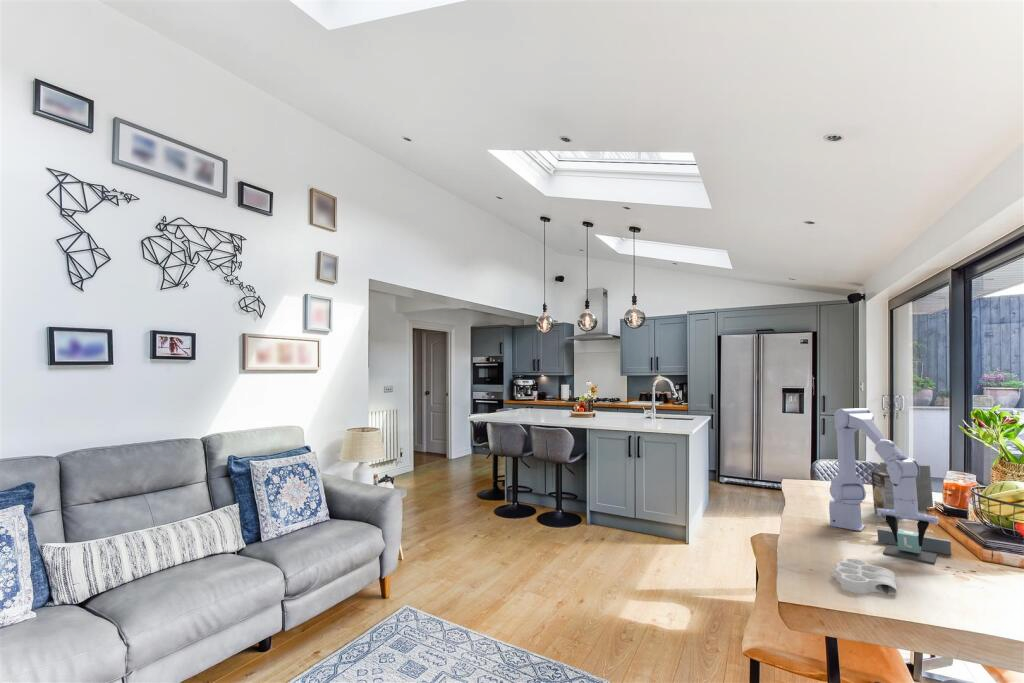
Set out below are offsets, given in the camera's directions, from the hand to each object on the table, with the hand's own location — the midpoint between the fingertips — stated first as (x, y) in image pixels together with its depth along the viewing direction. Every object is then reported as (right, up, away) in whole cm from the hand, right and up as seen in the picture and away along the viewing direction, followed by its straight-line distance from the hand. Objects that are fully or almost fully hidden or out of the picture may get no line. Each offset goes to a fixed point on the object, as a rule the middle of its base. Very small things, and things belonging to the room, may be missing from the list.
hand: (908, 543), depth 149 cm
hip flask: (+39, -6, +48) cm, 62 cm away
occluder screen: (+6, -4, +6) cm, 9 cm away
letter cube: (0, -2, 0) cm, 2 cm away
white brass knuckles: (-27, -4, -17) cm, 32 cm away
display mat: (0, -4, 0) cm, 3 cm away
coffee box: (+24, -6, +39) cm, 46 cm away
